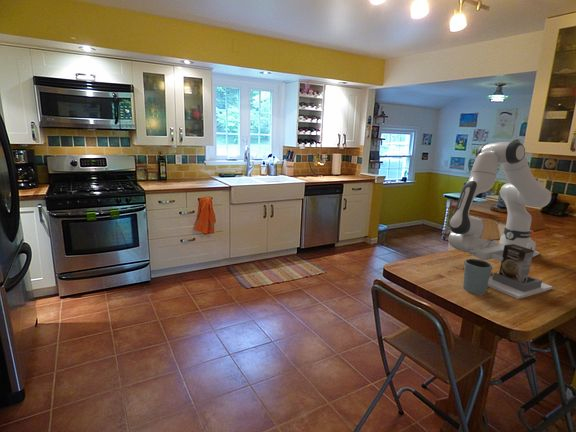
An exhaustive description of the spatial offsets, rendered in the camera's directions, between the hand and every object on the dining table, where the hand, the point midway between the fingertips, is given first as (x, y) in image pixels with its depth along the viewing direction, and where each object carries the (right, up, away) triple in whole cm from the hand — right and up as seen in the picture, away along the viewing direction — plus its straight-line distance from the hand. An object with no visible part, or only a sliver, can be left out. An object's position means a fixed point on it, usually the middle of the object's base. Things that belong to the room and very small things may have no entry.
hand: (510, 257), depth 151 cm
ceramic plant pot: (-19, -13, -6) cm, 24 cm away
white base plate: (+1, -12, -1) cm, 12 cm away
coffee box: (0, -11, -1) cm, 11 cm away
